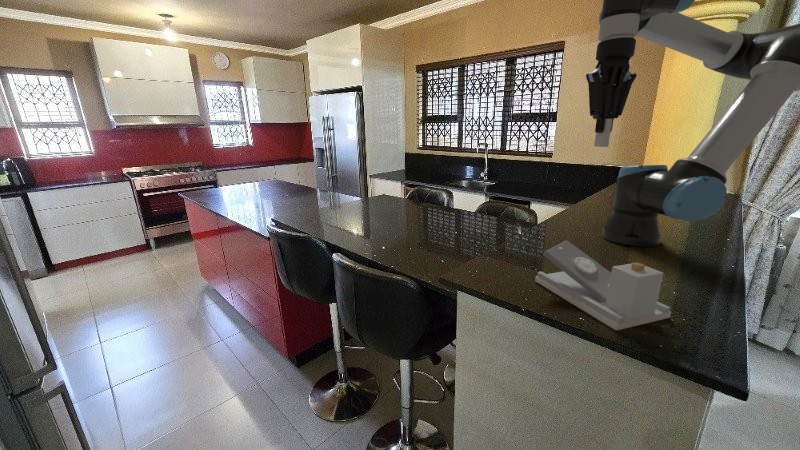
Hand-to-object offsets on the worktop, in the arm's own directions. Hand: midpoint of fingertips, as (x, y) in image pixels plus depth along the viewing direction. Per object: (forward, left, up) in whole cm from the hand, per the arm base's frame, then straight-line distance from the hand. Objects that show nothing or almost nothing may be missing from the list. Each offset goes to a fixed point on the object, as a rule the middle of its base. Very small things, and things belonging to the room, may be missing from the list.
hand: (601, 146), depth 83 cm
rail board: (+16, +18, -29) cm, 38 cm away
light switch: (+16, +15, -28) cm, 36 cm away
